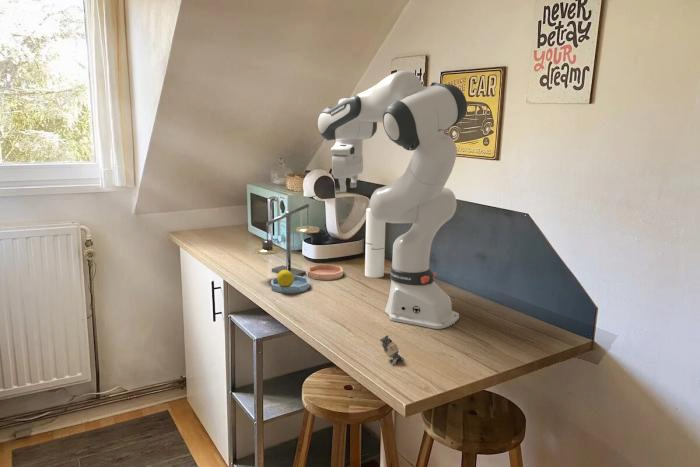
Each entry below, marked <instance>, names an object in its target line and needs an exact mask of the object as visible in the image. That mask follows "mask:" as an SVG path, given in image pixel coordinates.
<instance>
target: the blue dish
mask: <svg viewBox="0 0 700 467" xmlns="http://www.w3.org/2000/svg"><path fill="white" fill-rule="evenodd" d="M293 277H294V281H293V284H292V285H291V286H289V287H283V286H281V285H279V283H278V281H277V277H274V278H272V279H270V289H271V290H272V291H274V293H275V292H276V293H280V294H287V295H288V294H300V293H303V292H307V290H309V288H310V280H309V278H308V277H303V276H293Z"/></svg>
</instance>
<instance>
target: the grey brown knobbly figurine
mask: <svg viewBox="0 0 700 467" xmlns="http://www.w3.org/2000/svg"><path fill="white" fill-rule="evenodd" d="M390 336H391V335H390ZM390 336H389V334H388V335H386V336H384V337H382V338H381V339H379V342H381V346H382V347H383V351H384V353H385V355H386V356H387V357H389V358H392V362H389V363H388V362H387V363H386V364H388V365H391V366H393V365H394V364H395V365H396V363H397V360H401V361H403V360H404V357H403V356H401V354H399V347H398V345H397V344H396V343H395V342H393V340H392V339H391V338H390Z"/></svg>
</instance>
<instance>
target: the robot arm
mask: <svg viewBox="0 0 700 467" xmlns="http://www.w3.org/2000/svg"><path fill="white" fill-rule="evenodd" d="M467 111H468V102H467V98H466V96H465V94H464V92H463V91H462V90H461V89H460V88H459V87H458V86H456V85H454V84H450V83H438V82H433V81H432V82H431V84H430V85H429V86H425V85H423V84H422V82H421V80H420V79H419V78H418V76H417V75H416V74H415V73H413V72H411V71H409V70H398V71H396V72H394V73H391V74H389V75H387V76H386V77H384V78H382V79H381V80H380V81H379V82H377V83H376V84H375V85H373V86H371V87H370V88H367V89H366V90H364V91H362V92H359V93H358V94H356V95H355V94H354V95H353V96H351V97H344V98H341V99H339V100H338V104H336V105H334V106H333V107H331V106H330V107H329V106H326V107H325V108H324V109H323V110H322V111H320V113H319V115H318V119H317V130H318V133H319V134H320V135H321V136H322V138H323V139H325V140H326V141H335V143H334V144H333V146H332V147H331V148H330V155H332V158H331V170H332V176H333V177H332V178H334V179H337V180H338V184H339V191H340V192H341V193H342V192H346V191H347V188H348V186H347V185H346V184H347V183H346V181H347V178H350V177H351V178H350V183H349V188H351V189H354V188H355V189H356V188H357V182H358V178H359V174H362V173H363V171H364V156H363V142H364V141H363V140H367V139H371V138H372V137H373V136H374V135H375V134H376V133H377V131H378V123H382V124H383V128H384V131H385V133H386V135H387V136H388V139H390V141H392V142H393V143H395V144H396V145H398V146H400V147H402V148H403V149H404V150H407V151H413V153H412V156H411V159H410V161H409V163H408V165H407V166H406V167H407V168H406V170H405V171H404V173H403V174H401V176H399V177H398V178H397V179H395V180H394V181H393V182H391V183H389V184H387V185H384V186H382V187H378V188H376V189H375V190H374V191H373V193H371V195H370V196H371V197H370V199H369V208H370V210H371V213H372V215H373V217H374V218H375V219H376V220H377V221H382V222H386V223H387V224H388V223H389V224H412V225H411V227H410V229H409V230H408V231H407V232H405V233H403V234H401V235H399V236H398V237H397V238H396V239H395V240H394V242H393V243H392V244H393V245H392V261H391V262H392V263H391V266H390V275H389V276H390V277H389V278H390V289H389V295H388V300H387V303H386V307H385V309H384V311H385V313H386V314H387V315H388V318H389V320H390V321H393V322H398V323H403V324H409V325H412V326H413V325H414V326H420V327H425V328H428V329H429V328H430V329H434V330H436V329H437V330H441V329H445V328H448V327H450V325H451V326H452V324H453V325H454V324H456V323H457V322H458V321H459V320H458V319H460V313H459V312H457V311H454V310H453V306H452V304H453V303H452V299H451V297H450V296H449V295H448V294H447V293H446V292H445V291H444V290H443V289H442V288H441V287H440V286H439V285H438V283H436V282H435V281H434V279H435V278H434V277H436V276H437V272H436V271H435V272H433V271H432V270H431V268H430V258H431V250H432V248H431V247H432V243H433V241H434V238H435V236H436V234H437V232H438V231H439V229H440V228H441V227H442V226H443V225H445V223H447V222H448V221H450V220H451V219H452V218H453V216H454V215H455V213H456V211H457V205H458V204H457V198H456V195H455V194H454V192H453V191H452V189H451V188H448V187H445V185H446V183H447V181H448V179H449V178H450V176H451V175H452V174H451V173H452V171H453V169H454V167H455V163H456V160H457V159H456V157H457V153H458V152H457V151H458V147H457V145H456V142H455V141H454V139H453V138H452V137H451V136H450V135H448V134H446V133H445V132H444V131H445V130H446V129H448V128H450V127H453V126H456V125H458V123H460V122H462V120H464V118H465V117H466V115H467ZM457 320H458V321H457ZM456 321H457V322H456ZM455 322H456V323H455Z"/></svg>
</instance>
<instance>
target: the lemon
mask: <svg viewBox="0 0 700 467" xmlns="http://www.w3.org/2000/svg"><path fill="white" fill-rule="evenodd" d="M276 278H277V281H278V283H279V285H281V286H283V287H289V286H291V285H292V284H293V281H294V277H293V274H292V273H291V272H290V271H288V270H282V271H280V272H279V273H277V276H276Z"/></svg>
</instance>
